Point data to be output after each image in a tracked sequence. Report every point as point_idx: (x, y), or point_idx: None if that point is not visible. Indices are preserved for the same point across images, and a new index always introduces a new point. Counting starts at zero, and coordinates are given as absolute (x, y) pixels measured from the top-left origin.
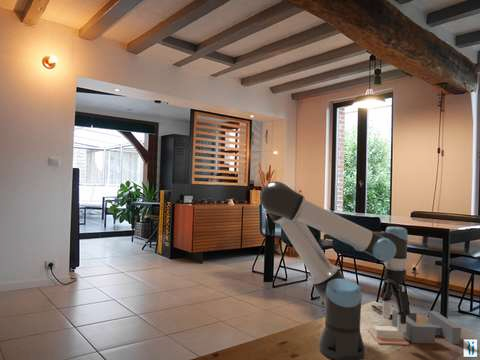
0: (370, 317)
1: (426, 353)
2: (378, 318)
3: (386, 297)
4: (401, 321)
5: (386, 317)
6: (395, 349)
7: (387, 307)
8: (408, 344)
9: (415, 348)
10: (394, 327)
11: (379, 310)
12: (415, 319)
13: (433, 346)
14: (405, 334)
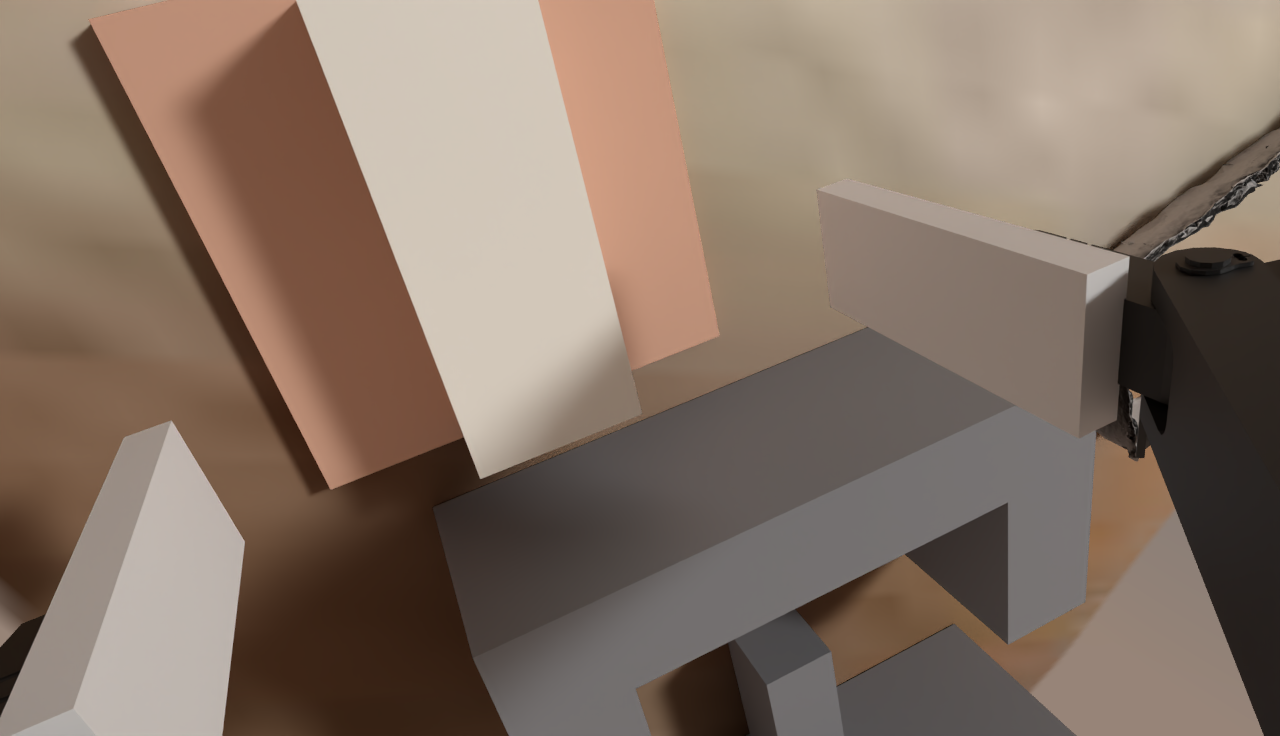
0: (1114, 30)
1: None
2: (1087, 141)
3: (1183, 390)
4: (11, 662)
5: (829, 251)
6: (16, 294)
7: (965, 322)
8: (327, 474)
9: (248, 550)
10: (583, 349)
11: (1253, 174)
12: (947, 582)
13: (428, 707)
14: (612, 449)
